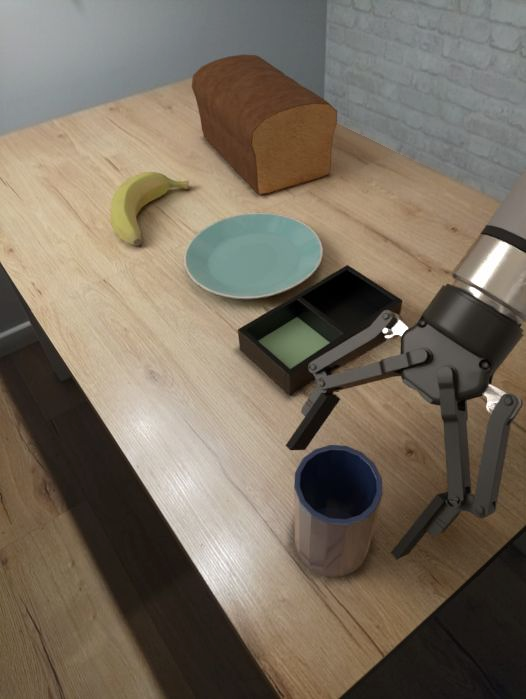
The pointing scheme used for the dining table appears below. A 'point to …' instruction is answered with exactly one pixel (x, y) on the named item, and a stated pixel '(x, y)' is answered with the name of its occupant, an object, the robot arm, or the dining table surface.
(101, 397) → the dining table surface
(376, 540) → the dining table surface
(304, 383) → the tray
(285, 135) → the bread
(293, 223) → the plate
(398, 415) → the dining table surface
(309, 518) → the cup
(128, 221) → the banana
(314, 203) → the dining table surface
